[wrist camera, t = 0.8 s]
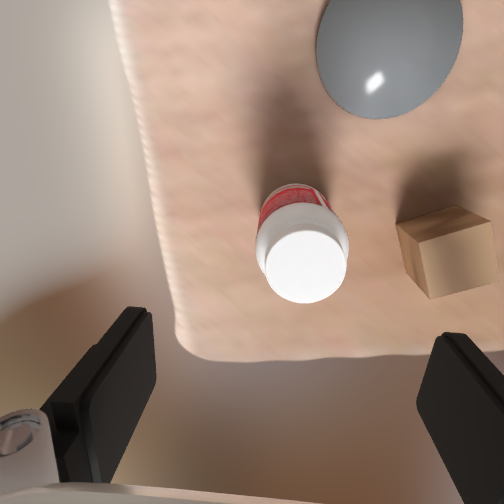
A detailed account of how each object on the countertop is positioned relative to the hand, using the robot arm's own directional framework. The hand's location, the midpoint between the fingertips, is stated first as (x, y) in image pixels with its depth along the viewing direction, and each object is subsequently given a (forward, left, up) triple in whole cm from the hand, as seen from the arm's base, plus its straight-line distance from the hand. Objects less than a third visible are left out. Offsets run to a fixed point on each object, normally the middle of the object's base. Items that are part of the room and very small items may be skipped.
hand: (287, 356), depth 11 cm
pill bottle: (-1, 0, -20) cm, 20 cm away
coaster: (-7, -13, -19) cm, 24 cm away
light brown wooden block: (-13, +2, -19) cm, 24 cm away
